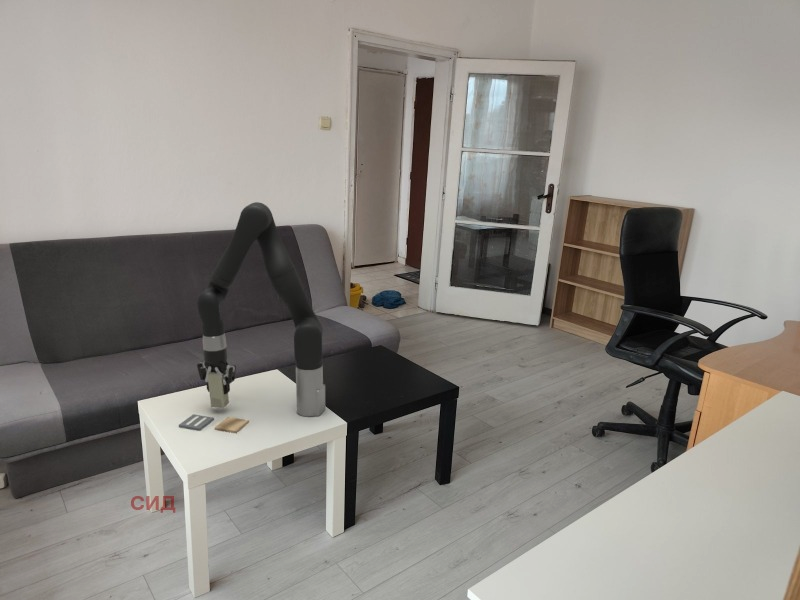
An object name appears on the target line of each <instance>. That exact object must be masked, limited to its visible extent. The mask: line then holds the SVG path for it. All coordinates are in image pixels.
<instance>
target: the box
mask: <svg viewBox="0 0 800 600" xmlns="http://www.w3.org/2000/svg"><path fill="white" fill-rule="evenodd" d="M224 374H225V372H224V373H223V374H222V375H224ZM207 376H208V384H209V392H208V393H209V400H210V407H211V408H214V409H217V408H218V409H225V408H226V407H227V406H228V405H229V403H230V399H229V398H230V397H229V393H227V394H224V390H223V382H222V378H221V374H218V373H215V372H211V373H207Z"/></svg>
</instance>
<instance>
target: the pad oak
mask: <svg viewBox="0 0 800 600" xmlns="http://www.w3.org/2000/svg"><path fill="white" fill-rule="evenodd" d="M249 423H250V420H249V419H244V418H237V417H231V416H226V417H225V418H224V419H223V420H222V421H221V422H219V423H218V424H216V426H214V427H213V428H214V431H220V432H224V431H225V432H226V433H230V432H231V434H238V433H240V431H242V429H243V428H244V427H246V426H247V425H248V424H249ZM246 424H247V425H246ZM237 432H238V433H237Z"/></svg>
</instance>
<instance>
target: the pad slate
mask: <svg viewBox="0 0 800 600" xmlns="http://www.w3.org/2000/svg"><path fill="white" fill-rule="evenodd" d="M214 420H215V417H213V416H206V415H200V414H192V415H190V416H189V417H187V418H186V419H185V420H183V421H181V422H180V423H179V424H178V428H180V429H181V428H182V429H188V430H193V431H198V432H199V431H202V430H203V429H204V428H205V427H207V426H208V425H210V424H211V423H212V422H213V421H214Z"/></svg>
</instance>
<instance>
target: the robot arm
mask: <svg viewBox="0 0 800 600" xmlns="http://www.w3.org/2000/svg"><path fill="white" fill-rule="evenodd" d="M239 214H240V215H239V218H238V222H237V224H236V227H235V230H234V233H233V236H232V237H231V240H230V241H229V244H228V245H227V248H226V249H225V251H224V253H223V254H222V255H221V257H220V258H219V261H218V263H217V264H216V266H215V267H214V270H213V271H212V273H211V277H210V278H211V279H210V281H209V283H208V285H207V287H205V289H204V291H202V292H201V293H200V294H199V295H198V297H197V300H196V301H197V302H196V304H197V305H196V306H197V311H198V315H199V318H200V321H201V330H202V331H201V333H202V351H203V360H204V361H200V362H199V363H197V364H196V366H197V367H196V368H197V371H198V375H199V378H200V380H201V381H204V382H205V383H206V390H207V392H208V393H209V384H208V376H207V373H211V372H215V373H218V374H221V378H222V382H223V390H224V394H227V393H228V394H229V392H231V391H230V390H231V384H232V383H233V382H234V381H236V379H235V378H236V370H237V365H235V364H234V365H230V364H229V363H228V353H227V352H228V351H227V348H228V347H227V339H226V338H227V337H226V333H225V323H224V322H225V321H224V319H223V317H222V316H221V314H220V307H221V306H222V304H223V303H224V301H225V299H226V297H227V295H228V294H229V290H230V288H231V286H232V285H233V284H234V282H235V279H236V278H237V276H238V274H239V272H240V270H241V269H242V267H243V264H244V262H245V259H246V256H247V254H248V252H249V250H250V249H251V247H252V245H253V244H254V242H255V241H257V243H258V245H259V248H260V250H261V256H262V260H263V266H264V268H265V273H266V275H267V278H268V280H269V282H270V284H271V287H272V289H273V291H274V293H275V294H276V295H277V297H278V298H279V299H280V301H281V302H282V303H283V304H284V305H285V307H286V309H287V310H288V312H289V314H290V317H291V319H292V321H293V324H294V327H295V331H294V334H293V339H294V340H293V349H294V361H295V391H296V392H295V393H296V395H295V396H296V413H297V414H298V415H300V416H302V417H315V416H316V417H320V416H321V414H322V413H323V412H324V411H325V410H326V384H324V378H323V377H324V376H323V374H324V371H323V370H324V369H323V367H324V364H323V363H324V361H323V331H324V330H323V326H322V324H321V322H320V321H319V318H318V317H317V315H316V313H315V311H314V310H313V308H312V307H311V305H310V303H309V301H308V298H307V295H306V291H305V288H304V286H303V283H302V281H301V279H300V277H299V274H298V272H297V269H296V268H295V267H296V266H295V265H294V263H293V261H292V259H291V257H290V255H289V253H288V251H287V248H286V247H285V245H284V244H283V241H282V239H281V237H280V234H279V231H278V228H277V226H276V222H275V220H274V216H273V213H272V211H271V209H270V208H269V207H268V205H267V204H264V203H262V202H258V201H257V202H256V201H255V202H252V203H250V204H248V205H246V206H244V207H243V208H242V210H241V212H240V213H239ZM206 369H207V370H206ZM224 372H225V374H224V375H222V374H223V373H224Z"/></svg>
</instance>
